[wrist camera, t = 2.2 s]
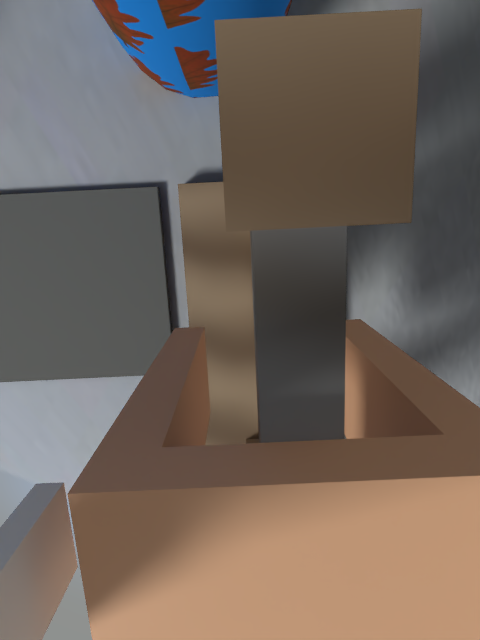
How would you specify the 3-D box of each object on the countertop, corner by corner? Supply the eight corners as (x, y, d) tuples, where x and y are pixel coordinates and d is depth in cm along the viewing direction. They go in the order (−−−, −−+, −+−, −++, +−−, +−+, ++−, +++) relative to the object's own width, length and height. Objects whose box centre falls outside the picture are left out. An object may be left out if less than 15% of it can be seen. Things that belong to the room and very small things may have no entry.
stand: (181, 186, 26) (-25, 33, 6) (330, 179, 26) (665, -5, 6) (203, 465, 31) (133, 928, 10) (330, 460, 31) (509, 915, 10)
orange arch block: (174, 328, 21) (67, 493, 8) (360, 319, 21) (565, 471, 8) (182, 413, 22) (99, 682, 9) (358, 404, 22) (535, 665, 9)
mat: (-35, 197, 26) (-41, 196, 26) (158, 187, 26) (157, 186, 26) (1, 379, 29) (-3, 382, 29) (175, 370, 29) (174, 373, 29)
